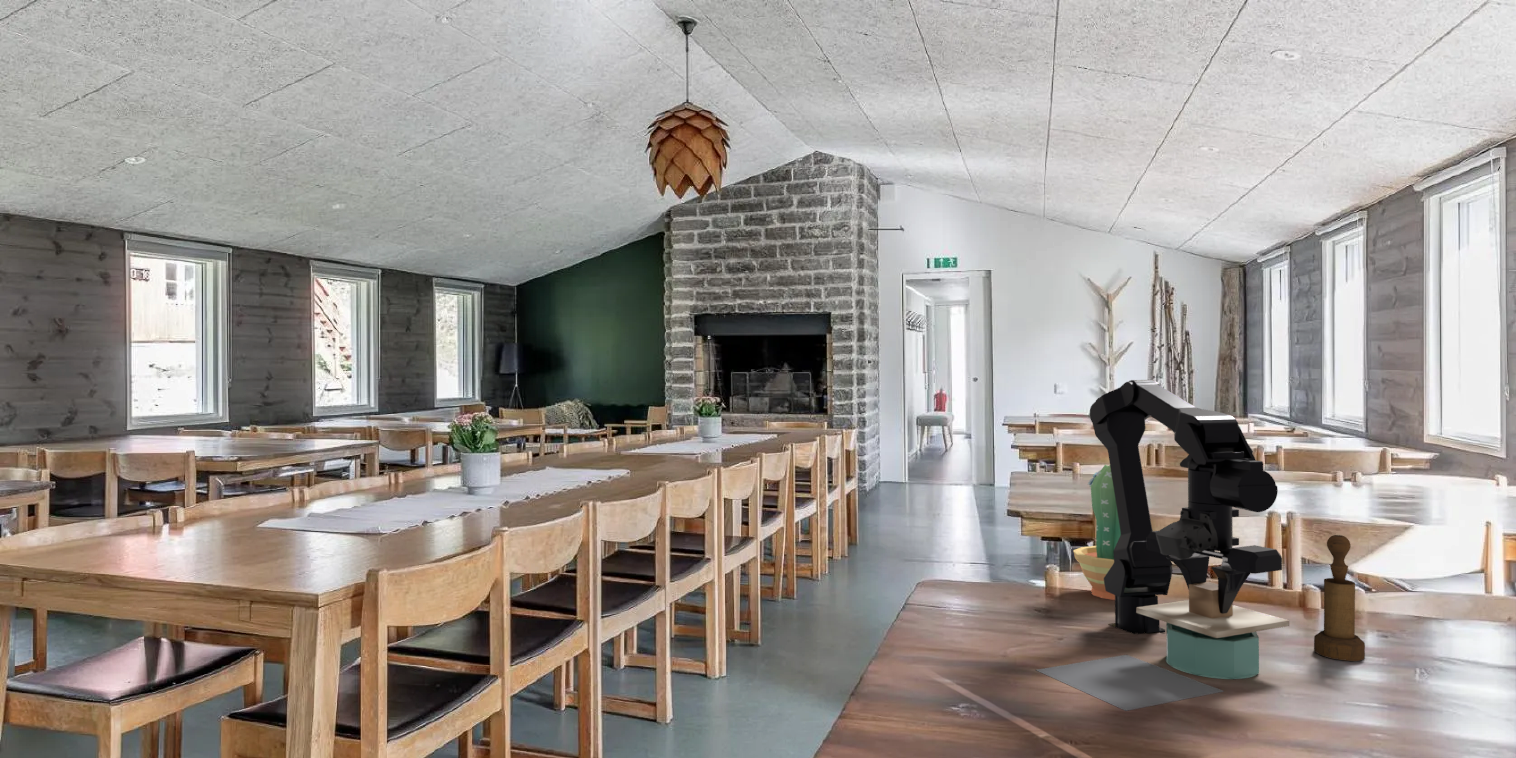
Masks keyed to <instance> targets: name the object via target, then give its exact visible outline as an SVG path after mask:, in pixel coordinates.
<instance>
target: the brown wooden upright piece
mask: <svg viewBox="0 0 1516 758" xmlns="http://www.w3.org/2000/svg"><path fill="white" fill-rule="evenodd" d="M1326 547H1327V549H1328V551H1329V552H1330V554H1331V555H1332V563H1331V564H1330V565H1329V567H1330V571H1331V575H1332V577H1327V578H1323V597H1324V599H1323V604H1324V605H1323V630H1321V631H1319V632H1318V633H1317V634H1315V635H1314V637H1313V651H1314V652H1315V653H1316V654H1317V655H1320V656H1322V657H1326V658H1329V659H1332V660H1339V661H1340V660H1341V661H1349V662H1359V661H1363V660H1364V659H1365V658H1366V652H1365V651H1366V644H1365V641H1364V640H1362V639H1361V638H1360V637H1359V636H1358V635H1356V633H1355V630H1356V629H1355V628H1356V627H1355V626H1356V625H1355V624H1356V623H1355V622H1356V621H1355V619H1356V618H1355V617H1356V612H1355V611H1356V610H1355V609H1356V606H1355V605H1356V604H1355V603H1356V582H1355V581H1352V580H1349V579H1346V578H1347V574H1348V570H1349V566H1348V565H1347V564H1346V563H1345V559H1346V556H1347V554H1348V553H1349V552H1350V550H1351V541H1350V540H1349V538H1347V537H1346V536H1345V535H1342V534H1332V535H1331V536H1330V537H1328V539H1327V541H1326Z"/></svg>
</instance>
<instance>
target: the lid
mask: <svg viewBox="0 0 1516 758" xmlns="http://www.w3.org/2000/svg"><path fill="white" fill-rule="evenodd" d="M1233 604H1234V602H1233V603H1232V605H1231V607H1230V609H1229V611H1228V612H1227V613H1224V614H1222V613H1220V610H1219V602H1218V583H1215V582H1211V581H1206V582H1204V583H1196V584H1189V589H1188V599H1185V600H1179V601H1173V602H1172V601H1171V602H1165V603H1158V604H1157V605H1150V606H1143V607H1136V613H1139V614H1142V615H1145V616H1148V617H1151V618H1154V619H1158V620H1159V621H1161V622H1164V623H1166V622H1167V623H1170V624H1173V625H1177V626H1180V627H1183V628H1186V629H1189V630H1192V631H1196V632H1199V633H1202V634H1205V635H1208V636H1211V637H1215V638H1221V637H1227V636H1233V635H1239V634H1245V633H1251V632H1256V633H1257V632H1261V631H1268V630H1273V629H1279V628H1283V627H1284V628H1285V627H1290V620H1289V619H1286V618H1282V617H1278V616H1276V615H1275V616H1274V615H1272V614H1271V615H1270V614H1267V613H1264V612H1260V611H1258V610H1257V611H1256V610H1253V609H1249V608H1246V607H1241V606H1239V605H1238V606H1237V605H1235V604H1234V605H1233Z"/></svg>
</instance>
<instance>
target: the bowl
mask: <svg viewBox="0 0 1516 758" xmlns="http://www.w3.org/2000/svg"><path fill="white" fill-rule="evenodd" d="M1165 623H1166V626H1165V627H1166V628H1165V633H1166V656H1165V662H1166V664H1168V666H1170V667H1172V669H1173V668H1174V669H1176V670H1178V671H1181V672H1184V673H1187V674H1190V675H1194V676H1198V677H1204V678H1205V677H1206V678H1209V679H1211V678H1212V679H1219V680H1221V679H1223V680H1241V679H1242V680H1243V679H1249V678H1252V677H1255V676H1257V675H1258V674H1260V642H1259V641H1260V638H1259V635H1258V633H1257V632H1251V633H1245V634H1239V635H1233V636H1227V637H1221V638H1215V637H1211V636H1208V635H1205V634H1202V633H1199V632H1196V631H1192V630H1189V629H1186V628H1183V627H1180V626H1177V625H1173V624H1170V623H1167V622H1165Z"/></svg>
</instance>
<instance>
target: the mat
mask: <svg viewBox="0 0 1516 758" xmlns="http://www.w3.org/2000/svg"><path fill="white" fill-rule="evenodd" d="M1035 671H1036V672H1038V673H1040V674H1043V675H1046V676H1048V677H1050V678H1052V679H1053V680H1056V681H1059V682H1060V683H1063V684H1066V685H1067V686H1069V687H1071V688H1073V689H1076V690H1079V691H1080V692H1083V693H1085V694H1087V695H1090V696H1092V697H1094V698H1096V699H1099V700H1101V701H1103V702H1105V703H1107V704H1109V705H1111V706H1114V707H1116V708H1118V709H1120V710H1122V711H1125V712H1128V711H1133V710H1138V709H1143V708H1148V707H1152V706H1158V705H1163V704H1167V703H1173V702H1178V701H1184V700H1188V699H1193V698H1198V697H1203V696H1208V695H1209V696H1210V695H1213V694H1218V693H1223V692H1225V690H1222V689H1219V688H1217V687H1215V686H1212V685H1209V684H1206V683H1204V682H1200V681H1198V680H1196V679H1193V678H1190V677H1188V676H1185V675H1182V674H1180V673H1177V672H1174V671H1171V670H1169V669H1167V668H1164V667H1161V666H1158V665H1156V664H1153V663H1150V662H1148V661H1146V660H1142V659H1140V658H1137V657H1134V656H1133V655H1128V654H1123V655H1121V654H1120V655H1115V656H1110V657H1109V656H1108V657H1103V658H1099V659H1091V660H1088V661H1087V660H1085V661H1081V662H1073V663H1069V664H1062V665H1055V666H1051V667H1050V666H1049V667H1045V668H1044V667H1043V668H1040V669H1035Z"/></svg>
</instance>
